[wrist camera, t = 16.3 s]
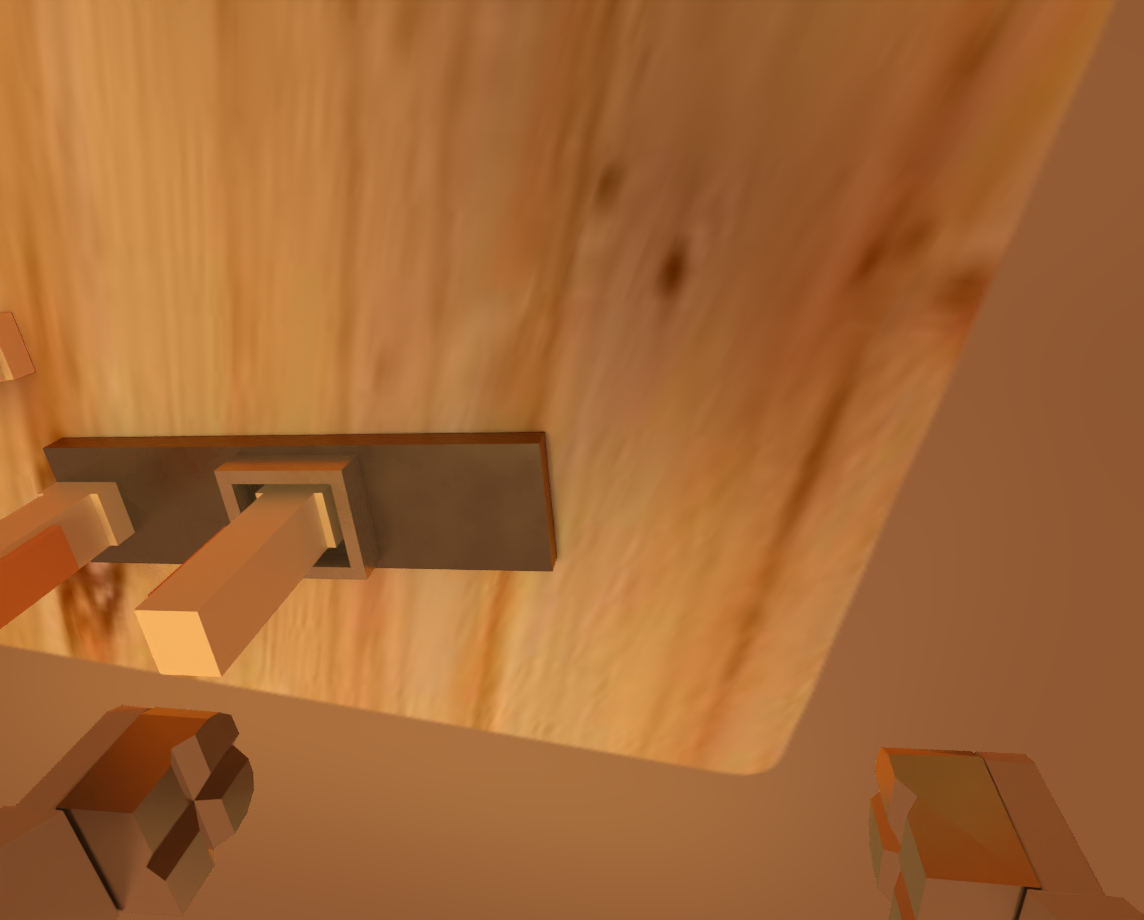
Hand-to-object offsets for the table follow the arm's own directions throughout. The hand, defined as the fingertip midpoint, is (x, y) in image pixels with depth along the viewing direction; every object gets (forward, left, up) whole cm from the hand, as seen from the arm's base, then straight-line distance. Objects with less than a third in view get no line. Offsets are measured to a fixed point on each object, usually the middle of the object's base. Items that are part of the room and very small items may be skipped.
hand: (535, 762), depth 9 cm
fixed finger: (+12, -34, -28) cm, 45 cm away
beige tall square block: (+12, -20, -28) cm, 36 cm away
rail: (+12, -21, -29) cm, 38 cm away
